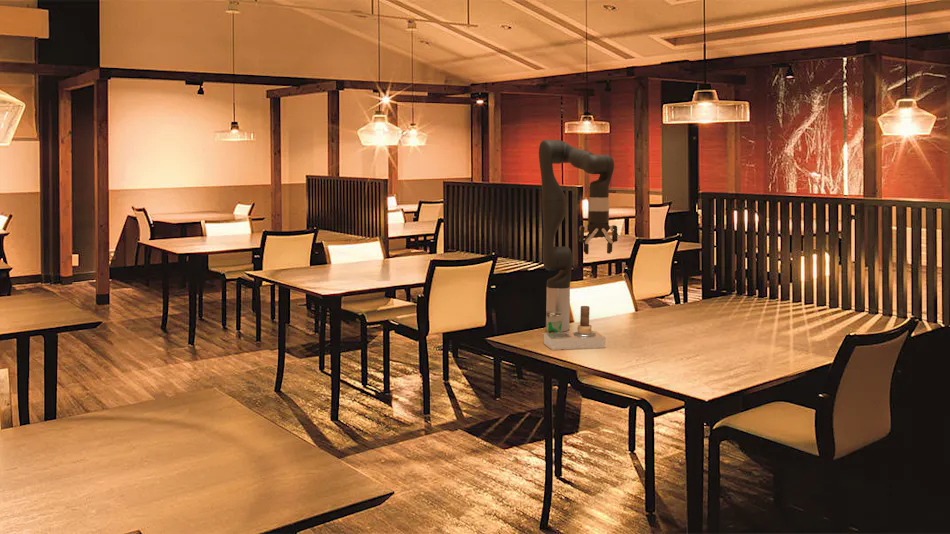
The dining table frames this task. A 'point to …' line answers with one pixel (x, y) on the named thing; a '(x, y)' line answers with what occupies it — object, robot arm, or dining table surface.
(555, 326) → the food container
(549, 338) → the bore block
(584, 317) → the brown wooden peg
